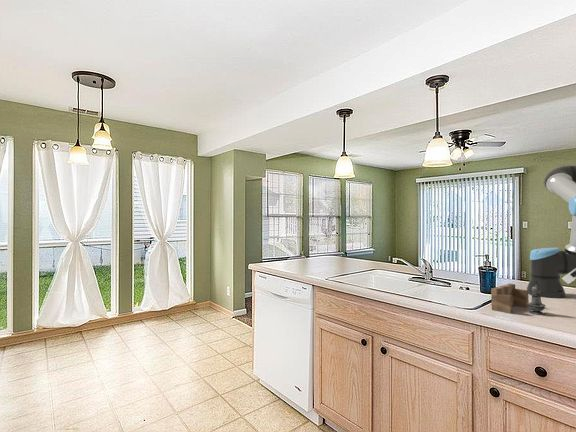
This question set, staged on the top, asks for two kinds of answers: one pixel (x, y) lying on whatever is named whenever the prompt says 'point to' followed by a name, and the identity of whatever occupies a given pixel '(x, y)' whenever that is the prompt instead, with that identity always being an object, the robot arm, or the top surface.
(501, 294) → the brown wooden u-shaped block
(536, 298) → the grey chess piece
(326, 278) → the top surface
